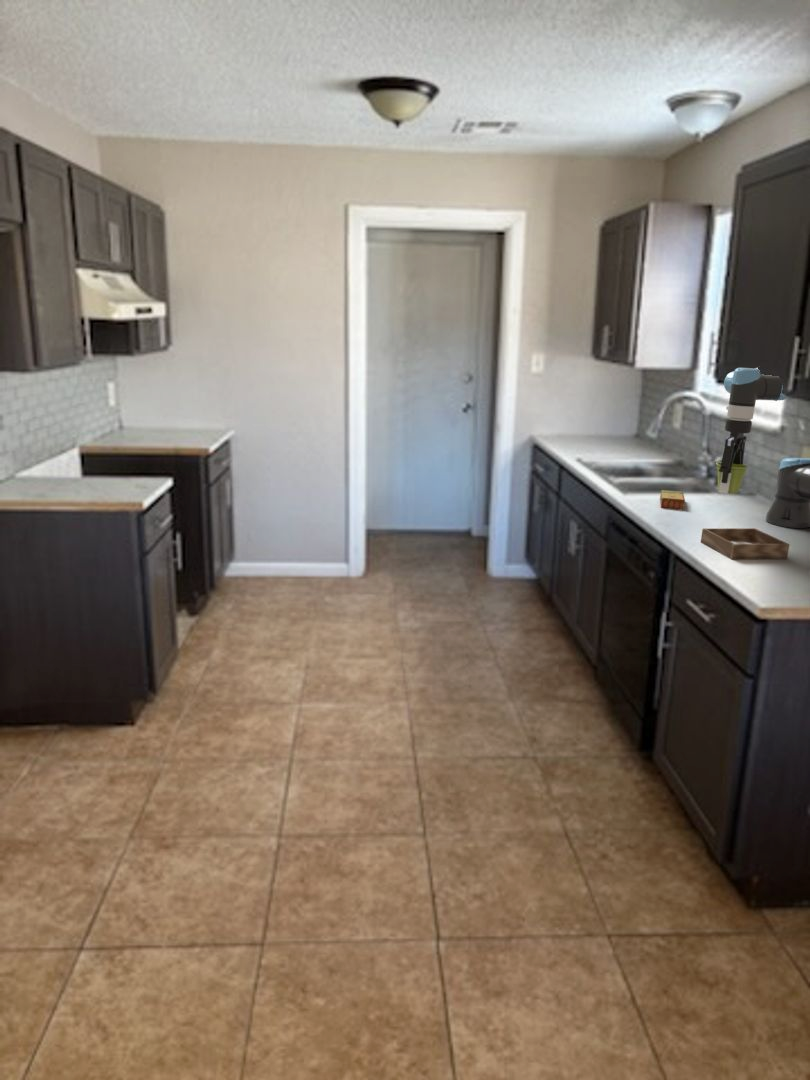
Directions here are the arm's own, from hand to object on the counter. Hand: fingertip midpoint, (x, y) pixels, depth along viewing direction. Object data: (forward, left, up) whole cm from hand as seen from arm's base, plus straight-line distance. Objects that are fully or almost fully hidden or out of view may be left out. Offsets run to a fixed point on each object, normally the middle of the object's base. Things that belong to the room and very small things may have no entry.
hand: (727, 490), depth 261 cm
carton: (-7, -47, -16) cm, 50 cm away
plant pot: (0, 0, 0) cm, 0 cm away
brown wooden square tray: (0, +13, -16) cm, 20 cm away
